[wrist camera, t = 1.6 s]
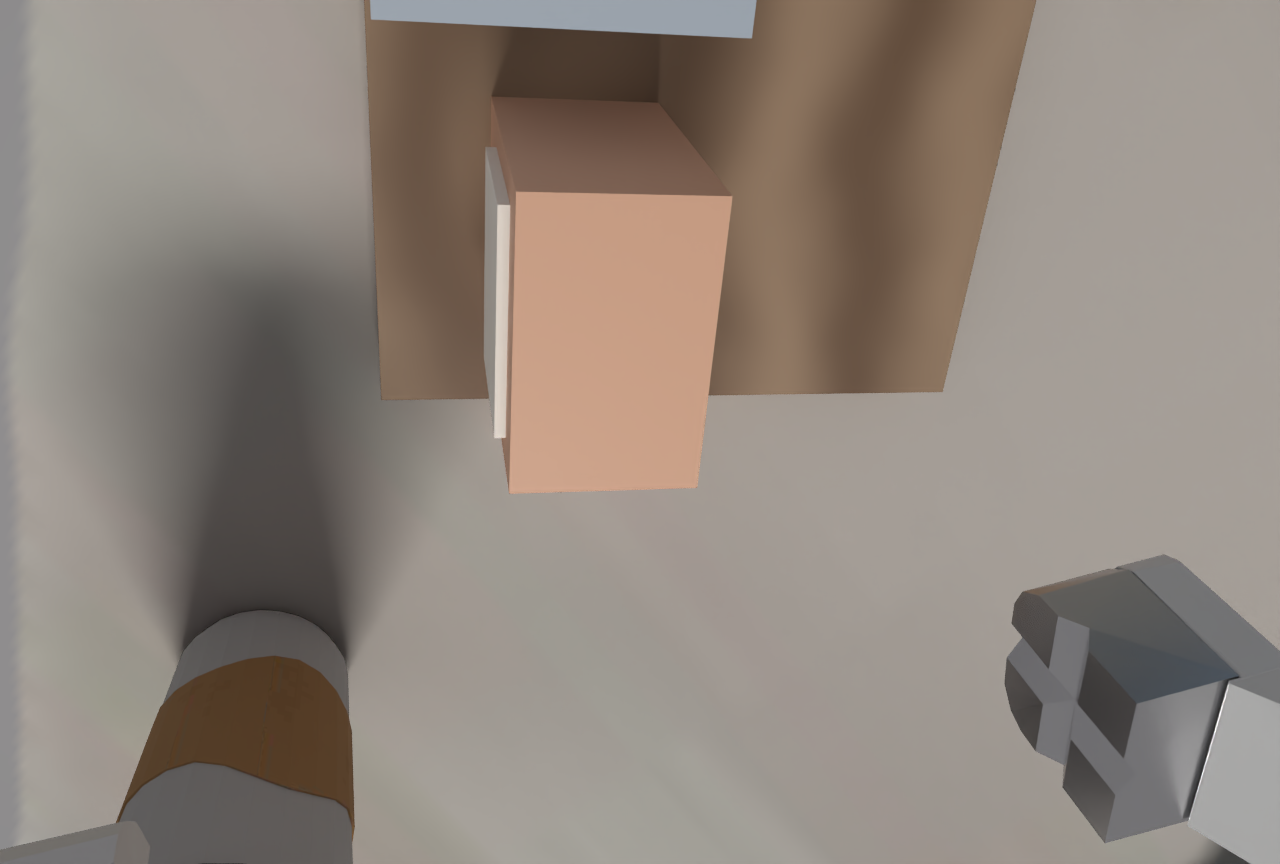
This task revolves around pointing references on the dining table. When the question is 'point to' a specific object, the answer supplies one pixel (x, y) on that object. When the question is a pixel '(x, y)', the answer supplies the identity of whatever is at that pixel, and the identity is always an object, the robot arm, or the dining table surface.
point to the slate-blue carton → (583, 14)
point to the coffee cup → (250, 750)
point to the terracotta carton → (599, 294)
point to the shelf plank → (742, 160)
